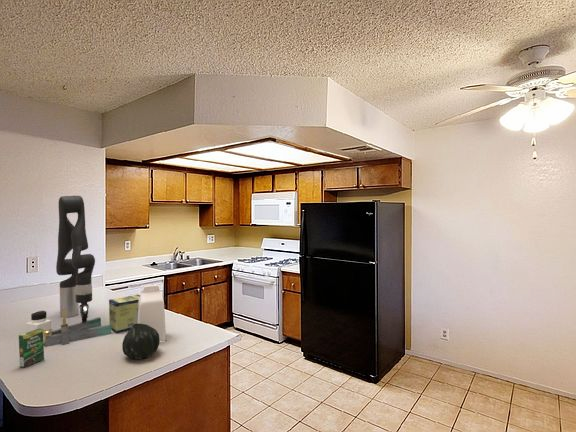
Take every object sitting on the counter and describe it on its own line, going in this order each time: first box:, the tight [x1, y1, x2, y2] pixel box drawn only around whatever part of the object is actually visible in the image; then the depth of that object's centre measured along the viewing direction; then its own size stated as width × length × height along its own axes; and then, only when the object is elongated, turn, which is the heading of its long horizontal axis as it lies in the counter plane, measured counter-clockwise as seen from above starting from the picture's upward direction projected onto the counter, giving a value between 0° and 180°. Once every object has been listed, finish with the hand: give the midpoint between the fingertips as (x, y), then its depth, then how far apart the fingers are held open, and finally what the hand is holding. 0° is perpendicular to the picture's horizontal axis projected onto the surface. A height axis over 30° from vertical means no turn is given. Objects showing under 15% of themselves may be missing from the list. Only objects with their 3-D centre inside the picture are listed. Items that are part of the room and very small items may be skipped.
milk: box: [138, 284, 167, 343], centre depth 162 cm, size 12×12×26 cm
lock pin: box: [61, 309, 67, 326], centre depth 164 cm, size 2×2×9 cm
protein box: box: [108, 294, 141, 335], centre depth 178 cm, size 10×16×16 cm
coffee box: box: [18, 328, 45, 369], centre depth 137 cm, size 8×3×13 cm, turn 159°
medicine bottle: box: [26, 310, 52, 338], centre depth 166 cm, size 7×7×12 cm
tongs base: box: [43, 323, 113, 347], centre depth 164 cm, size 11×29×6 cm, turn 126°
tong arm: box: [50, 316, 102, 335], centre depth 170 cm, size 2×24×4 cm, turn 151°
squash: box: [121, 323, 160, 360], centre depth 144 cm, size 14×15×15 cm
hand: (84, 325), depth 177 cm, fingers closed
